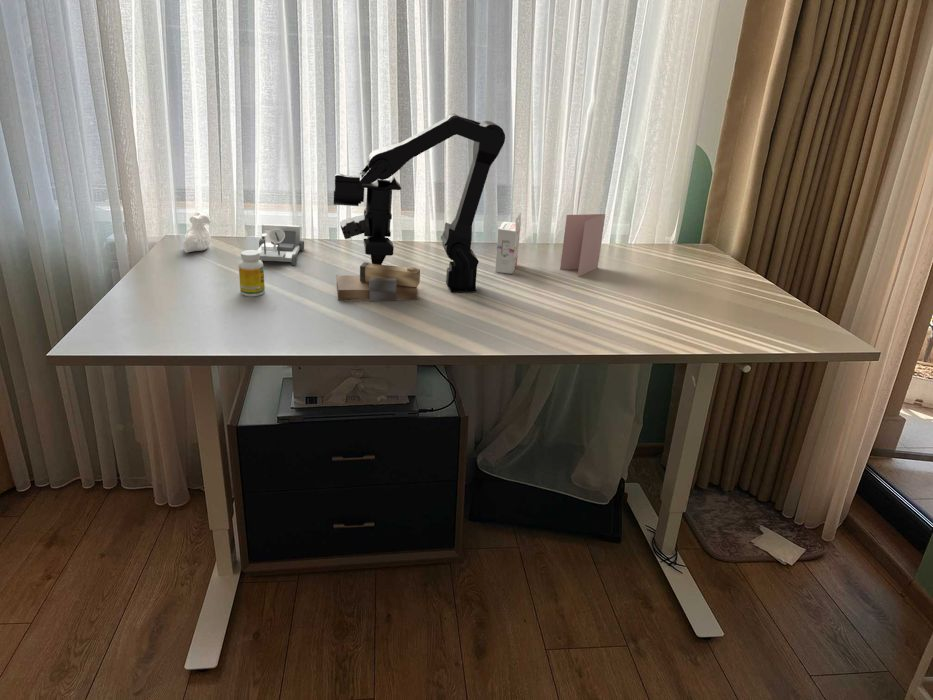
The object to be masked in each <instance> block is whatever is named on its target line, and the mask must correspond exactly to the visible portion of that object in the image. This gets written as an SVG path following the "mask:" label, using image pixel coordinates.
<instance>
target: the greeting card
mask: <svg viewBox="0 0 933 700" xmlns="http://www.w3.org/2000/svg"><path fill="white" fill-rule="evenodd" d="M565 217H566V218H565V225H564V226H565V227H564V235H563V242H562V250H561V251H562V252H561V258H560V265H559V266H560V267H559V270H578V272H577V277H581V276H583V275H585V274H587V273H589V272H592V271H594V270H596V269H599V268H598V267H599V261H600V254H601V249H602V248H601V247H602V243H603V242H602V239H603V233H604V226H605V221H606V220H605V219H606V214H605V213H603V214H602V213H597V214H595V213H594V214H566V216H565Z"/></svg>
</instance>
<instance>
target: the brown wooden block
mask: <svg viewBox="0 0 933 700" xmlns="http://www.w3.org/2000/svg"><path fill="white" fill-rule="evenodd" d="M396 283H397V280H396V278H369V282H366V281H365V282H361V281H360V275H336V290H337V298H338V299H337V301H369V302H396V301H401V300H403V301H404V300H405V301H406V300H407V301H408V300H411V301H412V300H413V301H414V300H415V301H416V300H418V290H419V289H418V286H417V287H410V286H401V285H396Z"/></svg>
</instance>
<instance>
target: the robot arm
mask: <svg viewBox="0 0 933 700" xmlns="http://www.w3.org/2000/svg"><path fill="white" fill-rule="evenodd" d="M456 135H457V136H460V137H463V138H466V139H468V140H471V141H473V145H472V161H471V165H470V168H469V172H468V175H467V178H466V182H465V184H464V189H463V191H462V195H461V199H460V201H459V205H458V209H457V212H456V215H455V218H454V219H453V221H452V222H451V223H449V222H444V223H445V224H444V228H443V229H444V231H443V233H442V235H441V236H440V239H441V241H442V243H441V244H442V247H443V249H444V252H445V254H446V255H447V257H448V258H449V259H450V260H451V261H449V264H448V265H449V266H448V267H447V268H446V276H445V278H446V280H445V285H446V286H447V288H448V289H449V291H450V292H452V293H470V292H471V293H472V292H473V293H474V292H475V293H476V292H478V288H477V272H478V271H477V270H478V265H479V263H480V262H479V259H478V257H477V256H476V255H475V253H474V250H472V247H471V246H472V241H473V239H472V238H473V223H474V219H475V217H476V213H477V209H478V207H479V204H480V201H481V198H482V194H483V192H484V187H485V185H486V181H487V178H488V176H489V172H490V168H491V166H492V165H493V163H494V162H495V160H496V159H497V158H498V156H499V154H500V153H501V150H502V148H503V146H504V144H505V142H506V133H505V131H504V130H503V128H502V127H501V126H500V125H498V124H496V123H495V122H493V121H491V120H485V121H482V122H480V121H476V120H474V119H470V118H467V117H466V118H465V117H463V116H459V115H458V114H456V113H450V114H449V115H447V116H446V117H444V118H443V119H441V120H440V121H438V122H436V123H433V124H432V125H430V126H428V127H426V128H425V129H423V130H421V131H419V132H418V133H417V132H416V134H414V135H412V136H410V137H408V138H407V139H405V140H402V141H400V142H398V143H394V144H390V145H386V146H384V147H380V148H376V149H375V150H373V151H371V152H370V153H369V155H368V158H367V164H366V165H365V166H364V168H363V169H361V171H360V172H359V173H358V175H349V174H342V173H335V174H334V186H333V205H335V206H348V207H351V206H353V207H359V205H361V204H362V203H364V199H365V189H366V203H365V209H363V214H362V215H356V216H353V217H349V218H346V219H343V220H341V221H340V222H339V223H340V224H339V225H340V229H341V231H342V234H343V237H344V239H345V240H349V239H352V237H355V236H358V235H363V236H364V237H366V238H363V240H362V241H363V246H364V253H365V254H366V255H369V256H370V260H371V264H380V265H383V262H384V260H385V259H386V256H389V257H390V256H394V244H393V241H392V240H391V239H390V238H391V236H392V235H391V234H392V233H391V232H392V231H391V220H393V219H392V217H393V215H392V205H393V204H392V203H393V200H392V199H393V191H401V190H402V187H401V184H400V182H398V181H397V179H396V177H395V176H393V175H394V174H396V173H397V172H398V171H400V170H402V168H403V167H404V165H406V164H407V163H408V162H409V161H410V160H411V159H413V158H415V157H417V156H419V155H420V154H423V153H424V152H426V151H428V150H429V149H431V148H433V147H436V146H437V145H439V144H440V143H442V142H444V141H446V140H449V139H450V138H452V137H453V136H456ZM389 178H390V179H389Z"/></svg>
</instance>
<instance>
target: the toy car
mask: <svg viewBox="0 0 933 700" xmlns="http://www.w3.org/2000/svg"><path fill="white" fill-rule="evenodd" d="M301 239H302V238H301V225H290V224H289V225H286V224H271V223H269V224H268V223H262V224H261V238H259V239H258V240H259V241H258V248H257V250H256V251H259V253H260V258H259V260H261V261H262V262H264V261H266V262H267V261H268V262H289V263H291V266H296V265H297V261H298V259H297V258H298V257H297V256H298V253H299V251H300V252H304V250H305V241H304V240H301Z"/></svg>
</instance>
